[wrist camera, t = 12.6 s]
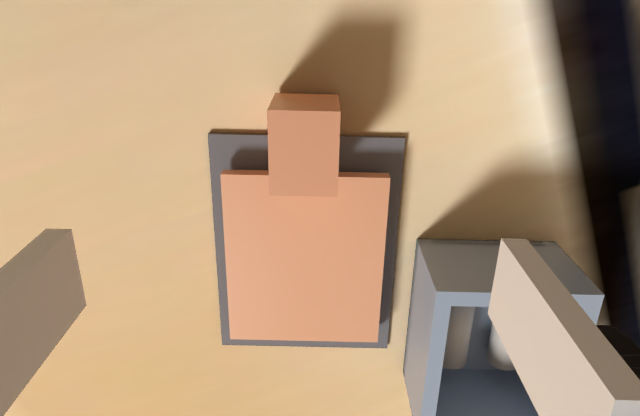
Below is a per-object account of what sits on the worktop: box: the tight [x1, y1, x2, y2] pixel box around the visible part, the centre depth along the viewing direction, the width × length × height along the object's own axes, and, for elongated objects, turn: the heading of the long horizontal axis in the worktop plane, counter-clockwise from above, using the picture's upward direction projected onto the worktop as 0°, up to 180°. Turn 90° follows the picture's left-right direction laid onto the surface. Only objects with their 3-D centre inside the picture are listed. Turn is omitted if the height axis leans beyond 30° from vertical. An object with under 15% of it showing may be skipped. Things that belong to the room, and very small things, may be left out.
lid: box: [220, 93, 390, 342], centre depth 34 cm, size 18×11×5 cm, turn 179°
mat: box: [208, 133, 405, 348], centre depth 37 cm, size 17×13×1 cm
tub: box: [403, 239, 605, 416], centre depth 36 cm, size 12×10×7 cm
